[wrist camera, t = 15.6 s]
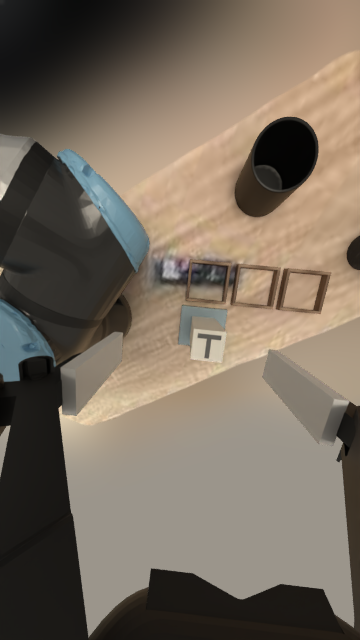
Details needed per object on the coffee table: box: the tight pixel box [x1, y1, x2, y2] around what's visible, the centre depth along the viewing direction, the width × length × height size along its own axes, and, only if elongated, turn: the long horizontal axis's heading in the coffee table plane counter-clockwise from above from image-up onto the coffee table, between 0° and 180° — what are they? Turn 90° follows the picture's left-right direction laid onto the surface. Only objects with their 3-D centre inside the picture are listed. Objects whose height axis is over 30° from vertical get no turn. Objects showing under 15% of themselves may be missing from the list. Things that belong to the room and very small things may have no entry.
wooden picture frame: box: [186, 259, 231, 304], centre depth 36 cm, size 8×8×2 cm
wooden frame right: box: [276, 268, 331, 314], centre depth 35 cm, size 8×8×2 cm
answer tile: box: [178, 305, 227, 345], centre depth 38 cm, size 10×9×1 cm
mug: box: [235, 117, 318, 216], centre depth 28 cm, size 9×12×9 cm
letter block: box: [190, 316, 227, 363], centre depth 32 cm, size 5×5×12 cm
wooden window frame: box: [231, 264, 281, 309], centre depth 36 cm, size 8×8×2 cm
